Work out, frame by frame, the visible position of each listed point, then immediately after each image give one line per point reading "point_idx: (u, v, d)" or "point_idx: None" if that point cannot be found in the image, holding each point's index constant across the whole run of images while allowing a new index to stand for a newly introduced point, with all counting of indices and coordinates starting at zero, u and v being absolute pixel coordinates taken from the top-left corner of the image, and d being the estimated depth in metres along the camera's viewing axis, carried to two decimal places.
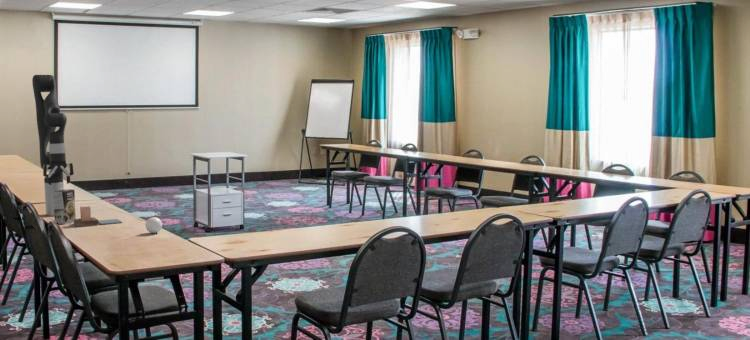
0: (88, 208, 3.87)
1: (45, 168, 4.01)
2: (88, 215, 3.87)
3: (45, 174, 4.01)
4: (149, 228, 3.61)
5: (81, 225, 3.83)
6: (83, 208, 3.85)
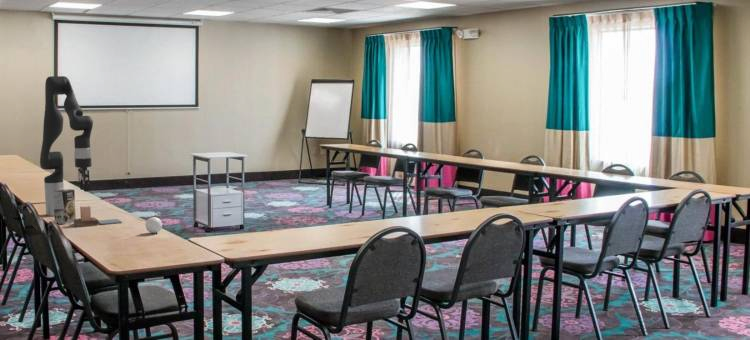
0: (88, 208, 3.87)
1: None
2: (88, 215, 3.87)
3: None
4: (149, 228, 3.61)
5: (81, 225, 3.83)
6: (83, 208, 3.85)
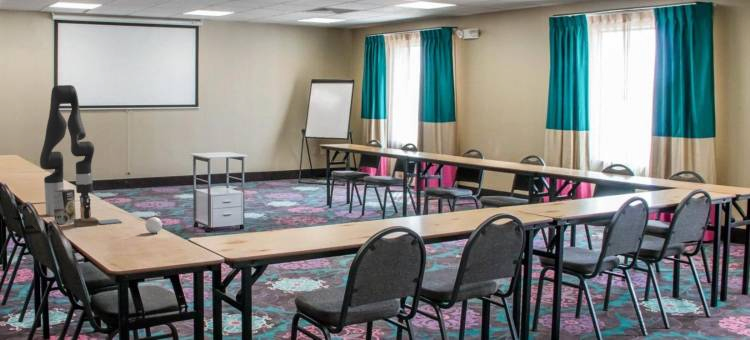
0: None
1: None
2: None
3: None
4: (149, 228, 3.61)
5: (81, 225, 3.83)
6: (83, 208, 3.86)
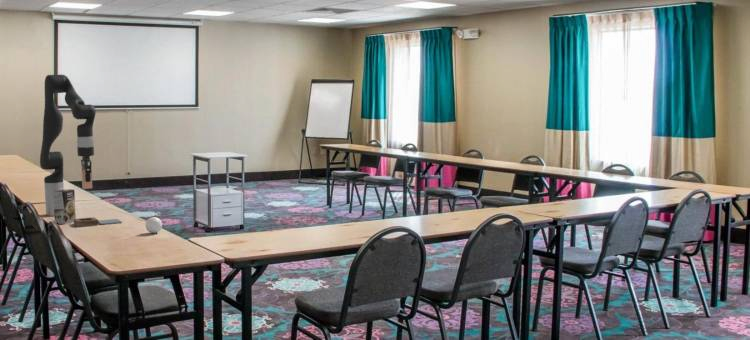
0: None
1: None
2: None
3: None
4: (149, 228, 3.61)
5: (81, 225, 3.83)
6: (84, 171, 3.84)
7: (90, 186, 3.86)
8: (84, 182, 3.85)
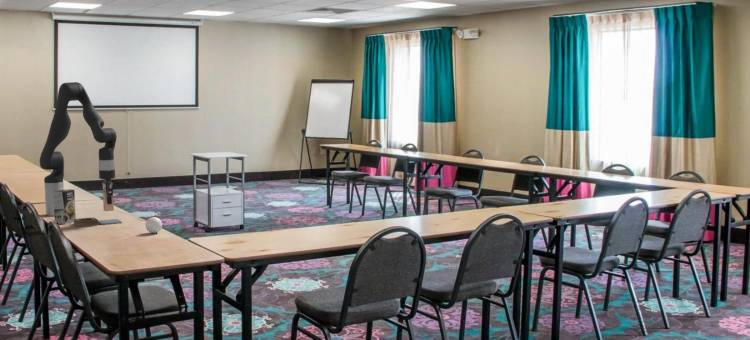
0: None
1: None
2: None
3: None
4: (149, 228, 3.61)
5: (81, 225, 3.83)
6: None
7: (111, 208, 3.92)
8: (106, 204, 3.91)
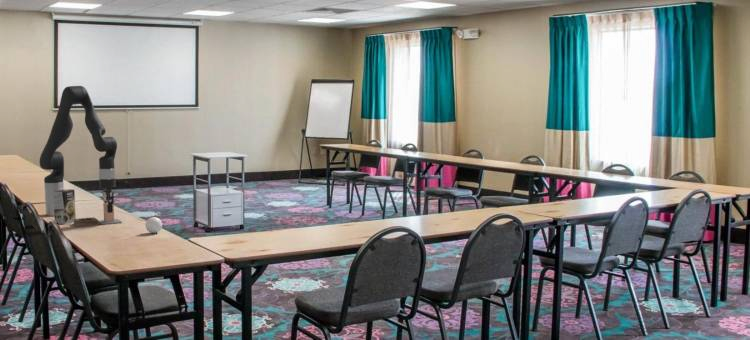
0: None
1: None
2: None
3: None
4: (149, 228, 3.61)
5: (81, 225, 3.83)
6: (106, 205, 3.91)
7: (112, 219, 3.93)
8: (106, 215, 3.92)
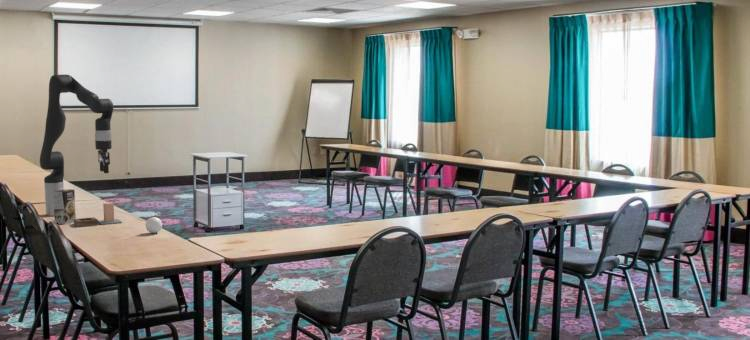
0: (111, 205, 3.92)
1: None
2: (111, 211, 3.93)
3: None
4: (149, 228, 3.61)
5: (81, 225, 3.83)
6: (106, 205, 3.91)
7: (112, 219, 3.93)
8: (106, 215, 3.92)
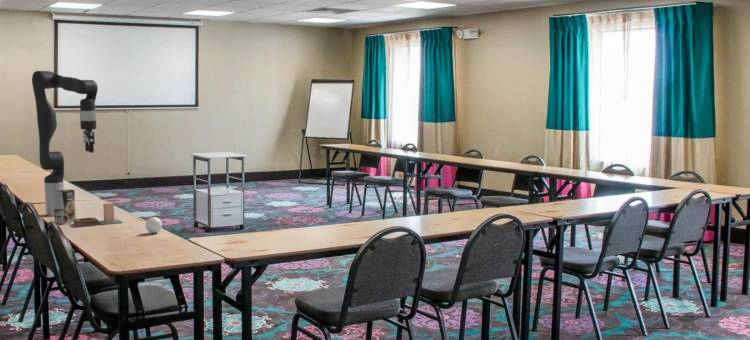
0: (111, 205, 3.92)
1: None
2: (111, 211, 3.93)
3: None
4: (149, 228, 3.61)
5: (81, 225, 3.83)
6: (106, 205, 3.91)
7: (112, 219, 3.93)
8: (106, 215, 3.92)
